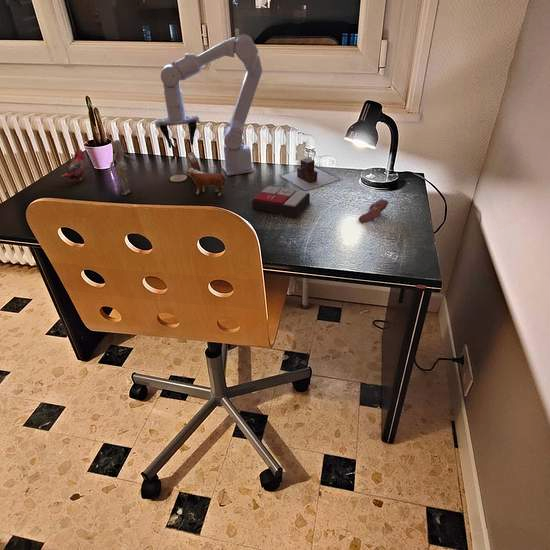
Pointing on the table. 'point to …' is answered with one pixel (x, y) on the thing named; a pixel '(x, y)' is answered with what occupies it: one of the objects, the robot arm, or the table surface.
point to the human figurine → (120, 164)
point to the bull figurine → (206, 180)
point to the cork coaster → (178, 178)
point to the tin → (192, 161)
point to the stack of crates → (309, 176)
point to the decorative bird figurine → (76, 167)
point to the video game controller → (374, 211)
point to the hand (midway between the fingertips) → (181, 145)
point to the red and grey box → (281, 201)
